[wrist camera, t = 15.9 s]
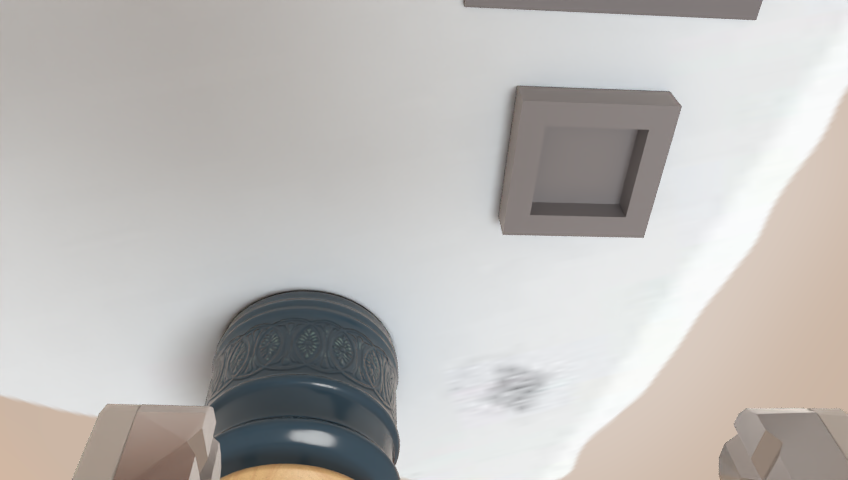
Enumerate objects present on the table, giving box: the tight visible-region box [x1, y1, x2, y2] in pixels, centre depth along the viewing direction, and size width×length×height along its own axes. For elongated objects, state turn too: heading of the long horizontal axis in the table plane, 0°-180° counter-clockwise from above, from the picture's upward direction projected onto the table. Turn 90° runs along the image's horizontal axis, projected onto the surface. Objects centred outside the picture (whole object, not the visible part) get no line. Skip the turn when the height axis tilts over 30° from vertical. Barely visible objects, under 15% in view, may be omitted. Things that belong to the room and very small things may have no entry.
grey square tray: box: [499, 86, 682, 238], centre depth 43 cm, size 9×9×2 cm
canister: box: [205, 291, 400, 480], centre depth 46 cm, size 13×13×18 cm
